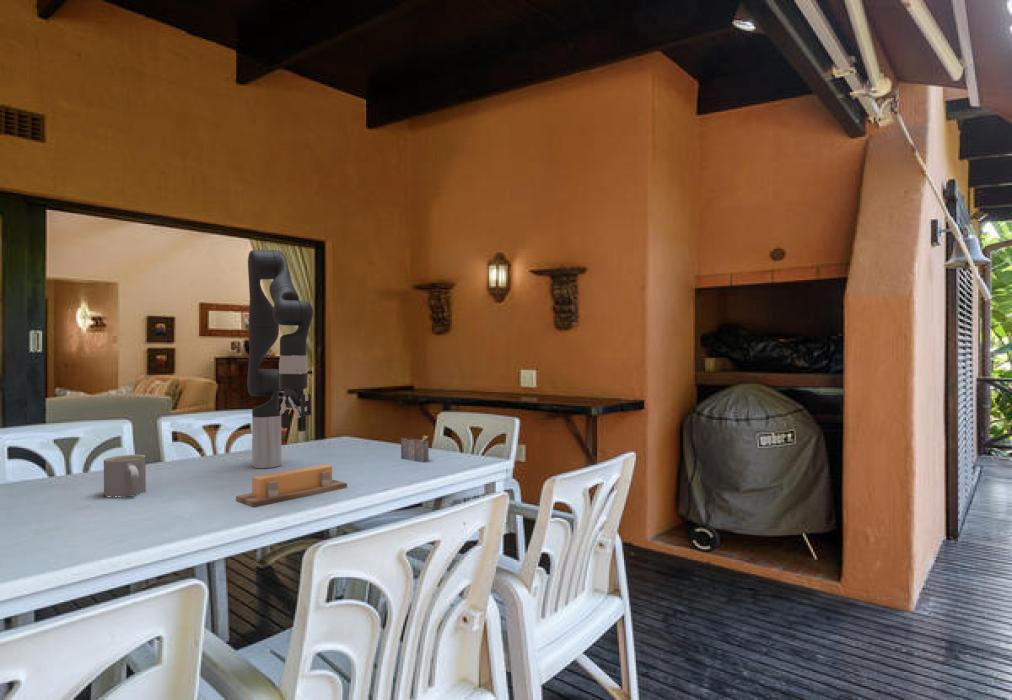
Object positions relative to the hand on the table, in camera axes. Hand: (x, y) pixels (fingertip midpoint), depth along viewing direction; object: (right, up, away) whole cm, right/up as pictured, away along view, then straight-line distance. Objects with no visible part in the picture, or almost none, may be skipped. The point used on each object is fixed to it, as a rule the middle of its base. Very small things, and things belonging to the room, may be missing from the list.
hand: (293, 429), depth 169 cm
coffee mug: (-47, -18, 0) cm, 50 cm away
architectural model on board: (+26, -18, +49) cm, 58 cm away
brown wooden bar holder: (0, -18, 0) cm, 18 cm away
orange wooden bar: (0, -17, 0) cm, 17 cm away
